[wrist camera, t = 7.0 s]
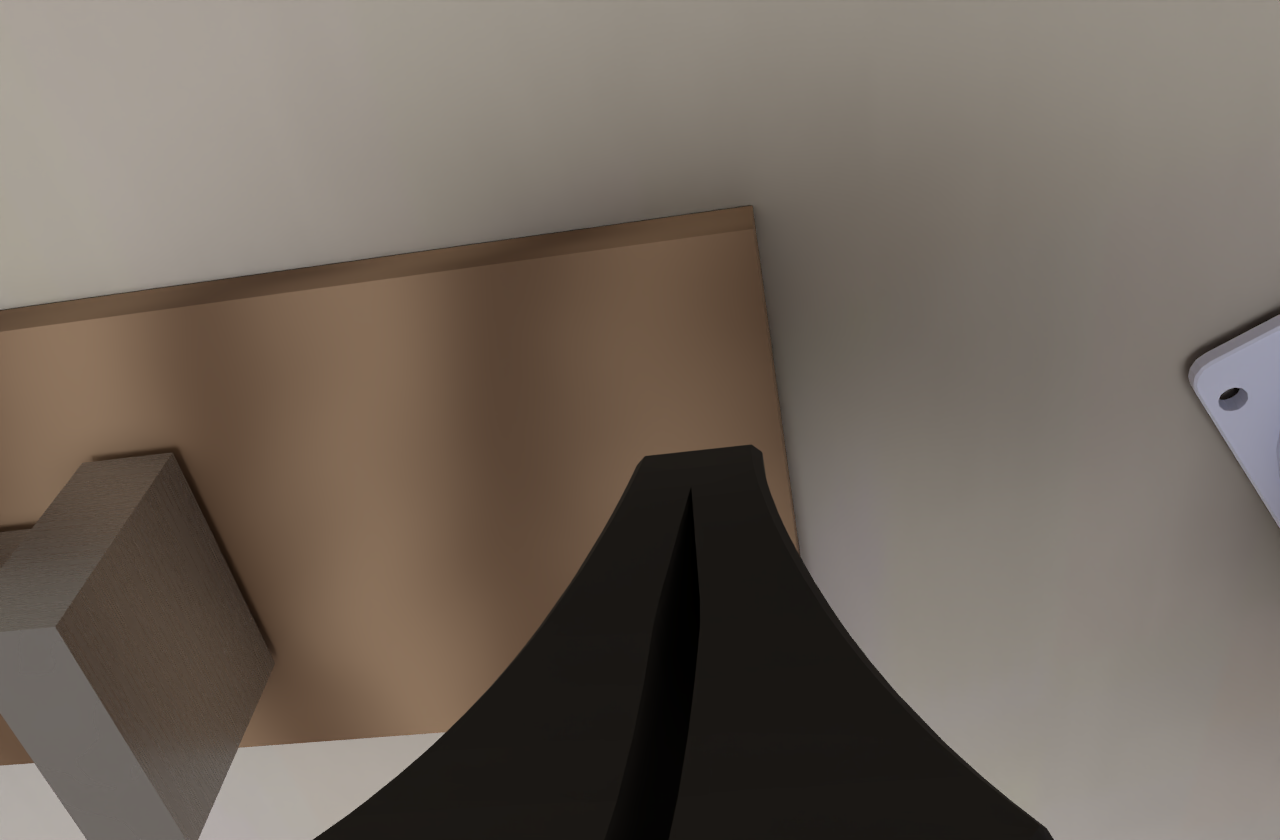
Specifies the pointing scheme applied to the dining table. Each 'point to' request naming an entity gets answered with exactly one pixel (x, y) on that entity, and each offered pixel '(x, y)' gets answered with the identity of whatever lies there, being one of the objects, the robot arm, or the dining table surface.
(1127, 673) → the dining table surface
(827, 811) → the robot arm
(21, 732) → the grey h-shaped block
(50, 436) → the launcher board
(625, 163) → the dining table surface
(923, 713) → the dining table surface
